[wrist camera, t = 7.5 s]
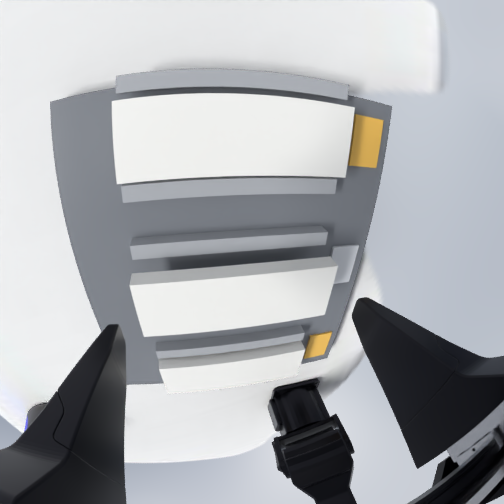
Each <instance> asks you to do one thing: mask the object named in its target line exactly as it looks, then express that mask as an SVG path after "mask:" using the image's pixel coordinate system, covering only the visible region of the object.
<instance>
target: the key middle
mask: <svg viewBox="0 0 504 504" xmlns="http://www.w3.org/2000/svg"><path fill="white" fill-rule="evenodd" d="M337 268H338V265H337V264H336V263H335V262H334V260H333V259H332V258H331V257H330V256H329V257H318V258H308V259H297V260H287V261H276V262H265V263H253V264H242V265H230V266H219V267H207V268H195V269H182V270H170V271H157V272H144V273H132V275H131V280H130V285H129V286H130V290H131V293H132V297H133V301H134V305H135V308H136V312H137V315H138V319H139V322H140V326H141V329H142V332H143V335H144V337H151V336H166V335H179V334H190V333H201V332H211V331H220V330H229V329H237V328H245V327H252V326H260V325H267V324H273V323H280V322H286V321H292V320H298V319H304V318H310V317H316V316H321V315H325V312H326V308H327V305H328V302H329V298H330V294H331V291H332V287H333V284H334V280H335V276H336V272H337Z"/></svg>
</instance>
